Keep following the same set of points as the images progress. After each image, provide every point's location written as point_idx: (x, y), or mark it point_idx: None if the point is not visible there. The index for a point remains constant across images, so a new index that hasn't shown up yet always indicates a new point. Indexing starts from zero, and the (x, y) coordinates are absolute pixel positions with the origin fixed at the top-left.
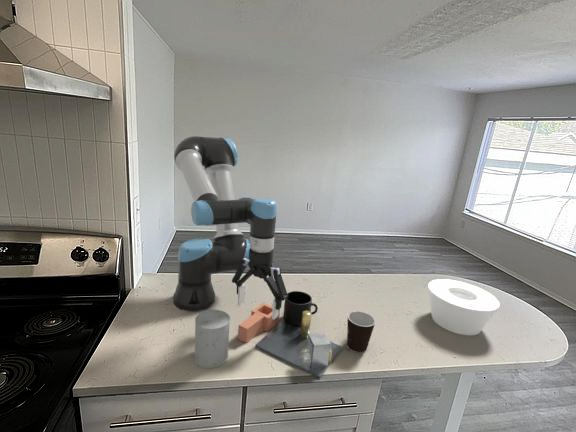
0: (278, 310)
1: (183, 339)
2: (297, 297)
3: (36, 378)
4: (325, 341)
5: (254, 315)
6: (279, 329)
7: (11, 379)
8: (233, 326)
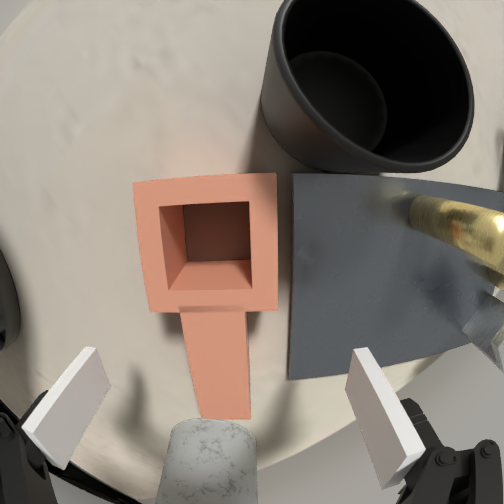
0: (381, 375)
1: (115, 428)
2: (316, 7)
3: (105, 494)
4: None
5: (196, 337)
6: (319, 245)
7: (96, 495)
8: (139, 333)
